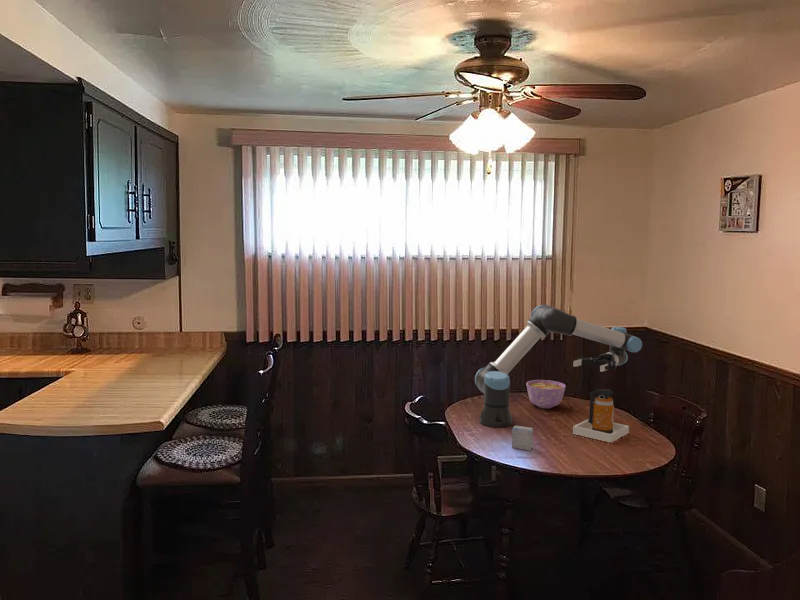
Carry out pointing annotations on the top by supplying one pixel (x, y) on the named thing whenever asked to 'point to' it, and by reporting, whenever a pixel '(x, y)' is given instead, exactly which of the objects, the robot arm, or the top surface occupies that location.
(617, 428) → the tray
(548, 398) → the bowl of food
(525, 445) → the medicine box
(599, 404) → the canister
